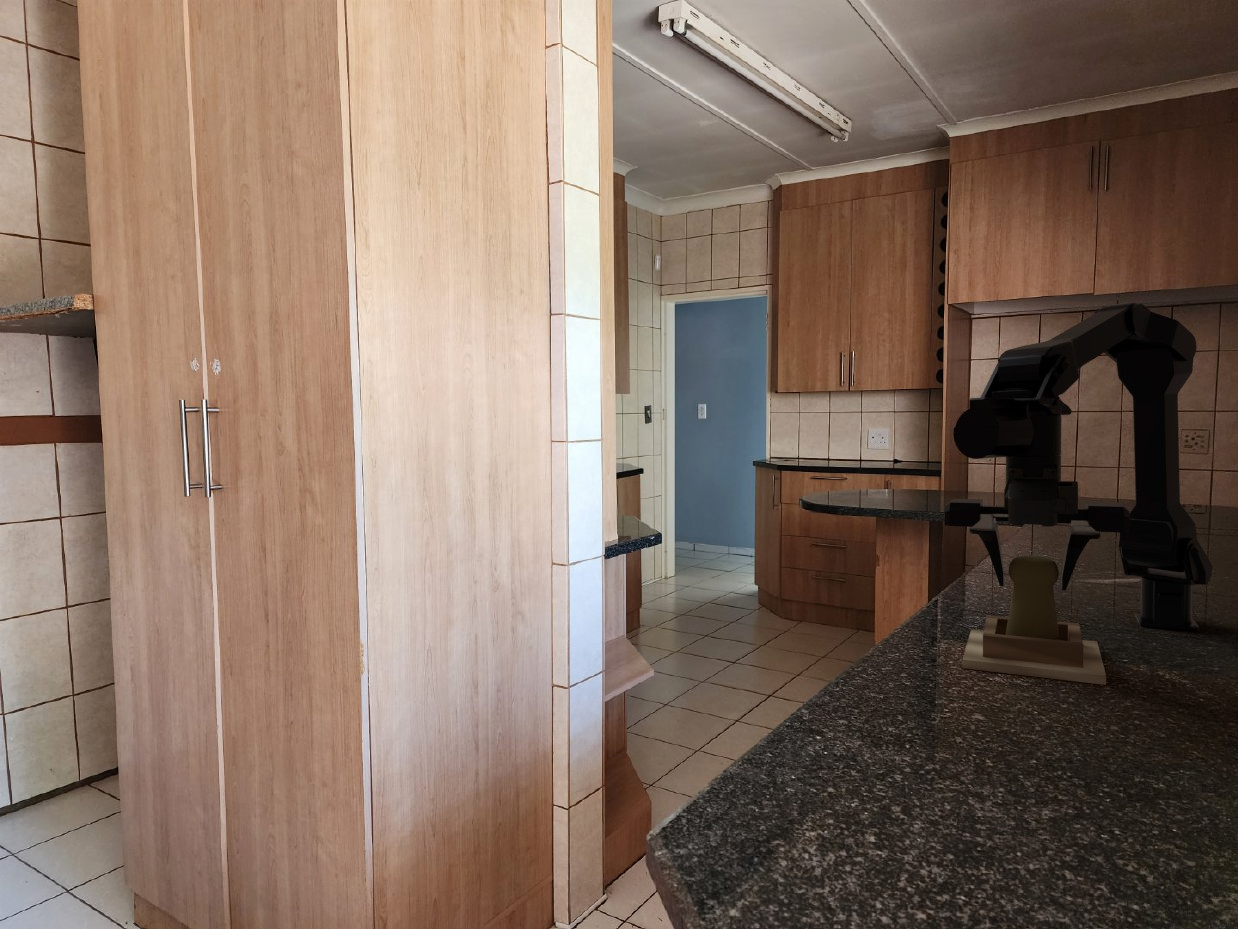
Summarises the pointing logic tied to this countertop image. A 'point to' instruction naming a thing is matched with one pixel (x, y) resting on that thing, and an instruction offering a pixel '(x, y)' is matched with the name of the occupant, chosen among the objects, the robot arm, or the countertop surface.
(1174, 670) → the countertop surface
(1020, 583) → the cork
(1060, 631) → the socket board
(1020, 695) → the countertop surface
